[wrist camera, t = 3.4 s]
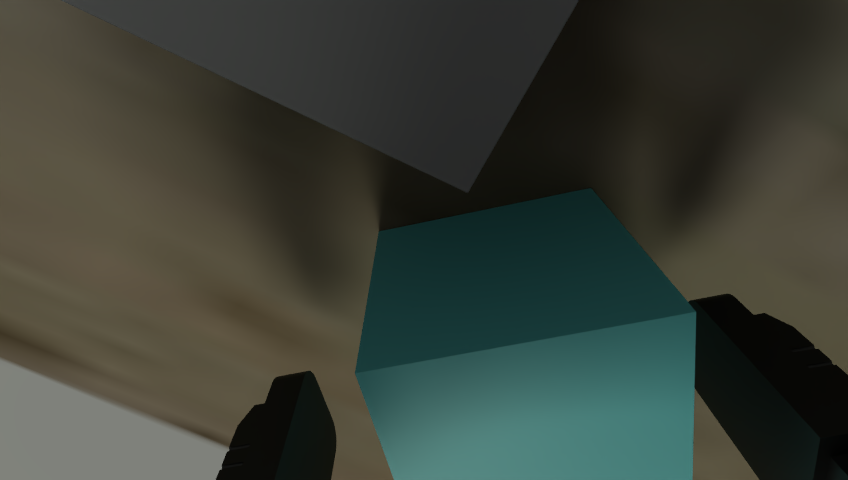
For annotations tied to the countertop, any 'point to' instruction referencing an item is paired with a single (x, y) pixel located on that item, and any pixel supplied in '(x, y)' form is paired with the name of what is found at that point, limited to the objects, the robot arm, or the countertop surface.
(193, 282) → the countertop surface
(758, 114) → the countertop surface
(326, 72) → the charcoal block
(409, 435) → the teal block
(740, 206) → the countertop surface
